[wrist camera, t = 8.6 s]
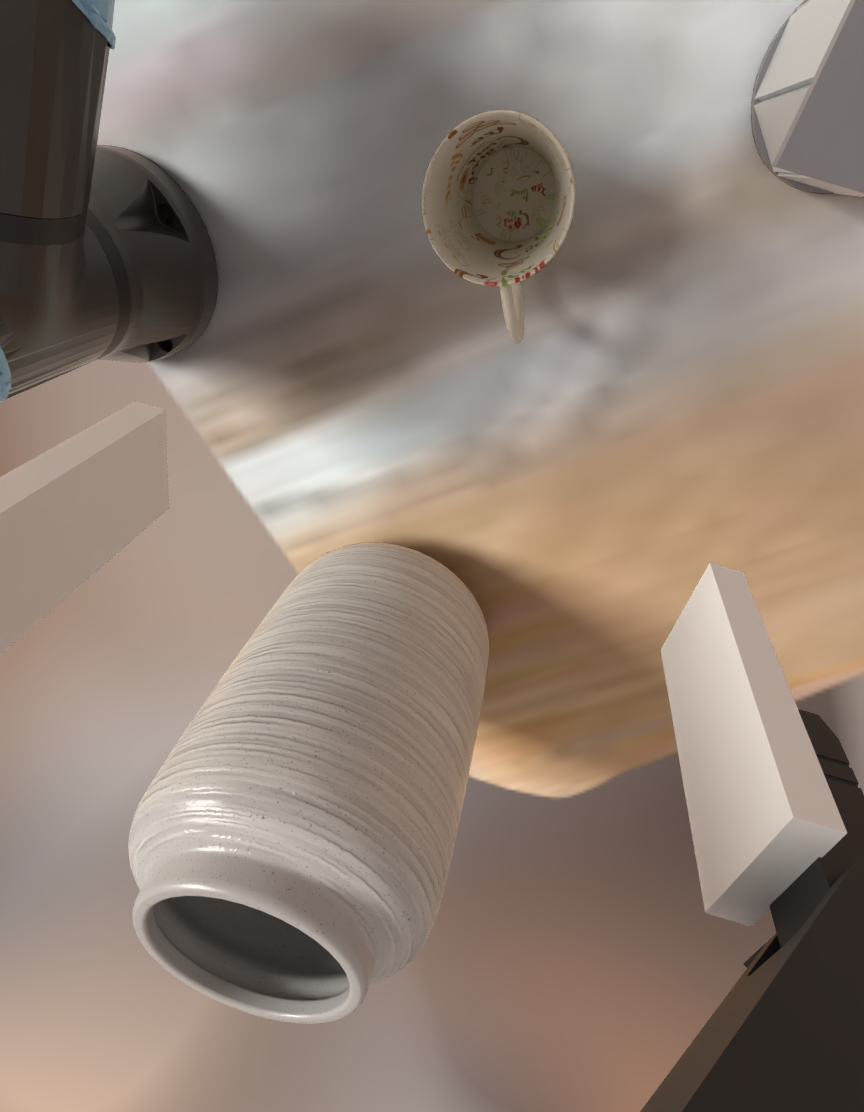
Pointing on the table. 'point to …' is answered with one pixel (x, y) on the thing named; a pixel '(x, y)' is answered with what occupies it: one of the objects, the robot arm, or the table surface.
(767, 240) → the table surface
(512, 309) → the mug
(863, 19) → the grey french press
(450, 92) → the table surface
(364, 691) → the vase
